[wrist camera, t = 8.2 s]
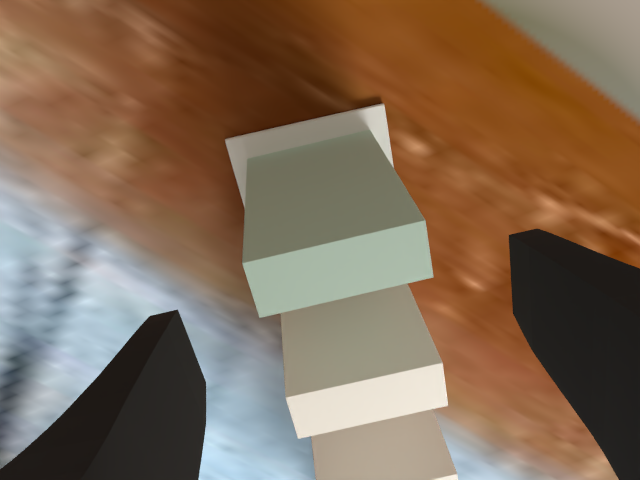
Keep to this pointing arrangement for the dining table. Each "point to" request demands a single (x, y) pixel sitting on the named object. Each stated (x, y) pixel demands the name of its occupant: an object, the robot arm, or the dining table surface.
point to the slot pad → (306, 137)
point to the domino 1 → (329, 225)
